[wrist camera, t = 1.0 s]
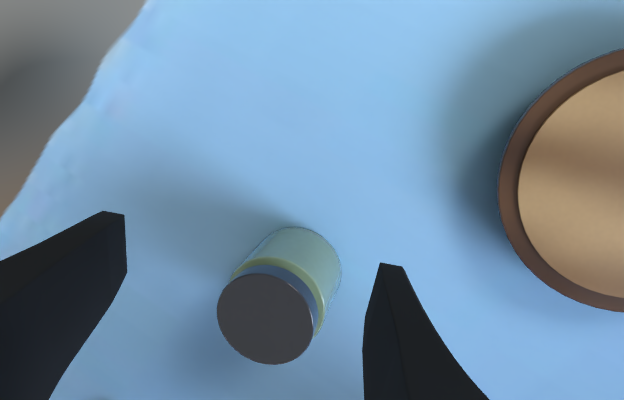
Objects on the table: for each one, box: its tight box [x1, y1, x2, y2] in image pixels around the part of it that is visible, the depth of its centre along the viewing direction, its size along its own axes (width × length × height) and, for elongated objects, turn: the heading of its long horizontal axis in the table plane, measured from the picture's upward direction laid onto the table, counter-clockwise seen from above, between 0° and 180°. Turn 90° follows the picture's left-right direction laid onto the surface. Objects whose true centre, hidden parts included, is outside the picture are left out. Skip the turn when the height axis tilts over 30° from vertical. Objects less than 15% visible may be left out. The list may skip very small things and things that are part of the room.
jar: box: [217, 227, 341, 365], centre depth 28 cm, size 6×6×6 cm
